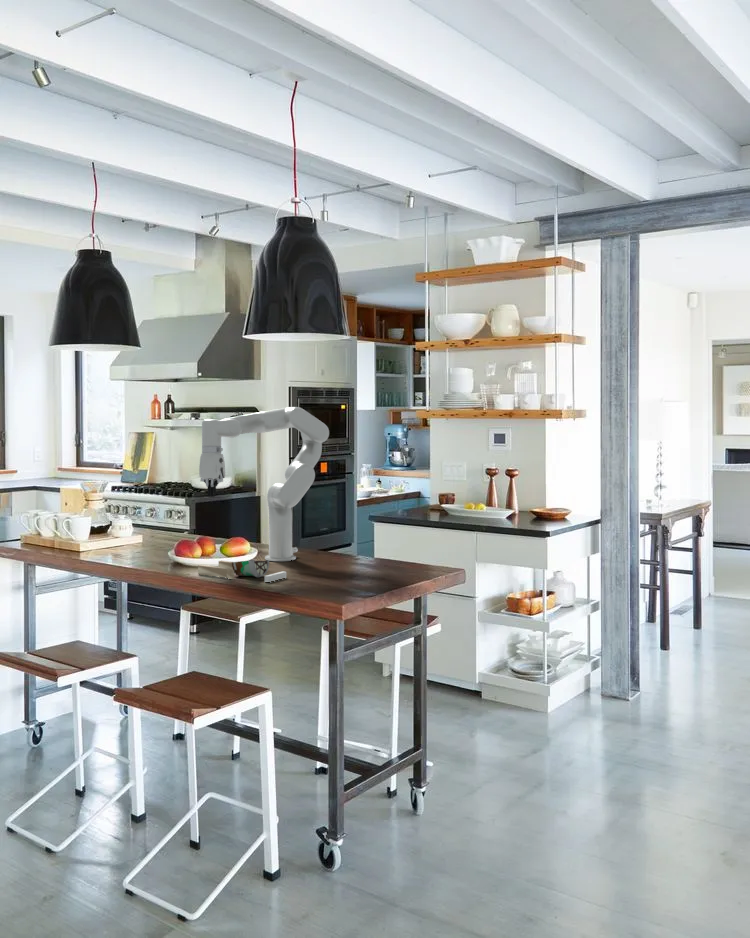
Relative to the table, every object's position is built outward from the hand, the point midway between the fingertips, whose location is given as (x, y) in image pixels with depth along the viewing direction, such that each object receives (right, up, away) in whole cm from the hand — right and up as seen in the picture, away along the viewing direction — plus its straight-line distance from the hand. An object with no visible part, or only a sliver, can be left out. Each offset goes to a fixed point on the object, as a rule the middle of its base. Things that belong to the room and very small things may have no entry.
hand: (211, 496), depth 360 cm
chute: (+10, -29, -20) cm, 36 cm away
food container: (+14, -27, -23) cm, 38 cm away
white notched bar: (+29, -30, -31) cm, 52 cm away
